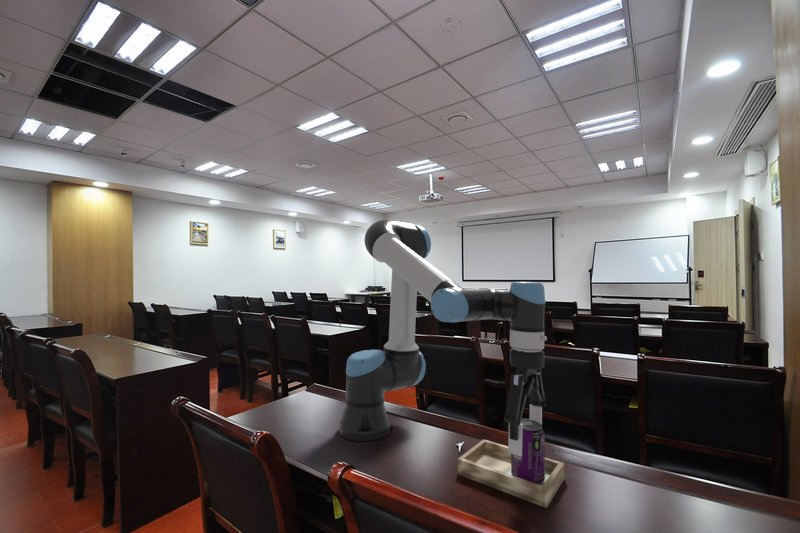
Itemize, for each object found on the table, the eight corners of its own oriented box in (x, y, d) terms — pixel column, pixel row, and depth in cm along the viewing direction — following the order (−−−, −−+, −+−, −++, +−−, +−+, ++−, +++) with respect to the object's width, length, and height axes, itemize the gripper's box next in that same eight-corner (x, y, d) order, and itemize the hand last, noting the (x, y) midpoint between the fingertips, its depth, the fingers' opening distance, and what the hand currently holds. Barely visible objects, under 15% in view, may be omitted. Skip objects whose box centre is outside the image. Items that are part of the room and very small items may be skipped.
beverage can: (547, 489, 75) (546, 431, 76) (512, 484, 77) (512, 427, 78) (542, 472, 82) (541, 419, 83) (510, 468, 84) (510, 416, 85)
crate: (457, 474, 83) (457, 458, 83) (483, 452, 94) (483, 439, 94) (546, 508, 71) (546, 490, 71) (564, 478, 82) (564, 463, 82)
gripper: (524, 360, 69) (523, 470, 69) (558, 344, 89) (558, 430, 88) (488, 354, 74) (487, 458, 73) (528, 340, 94) (527, 422, 93)
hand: (526, 443), depth 81 cm, fingers open, 13 cm apart
